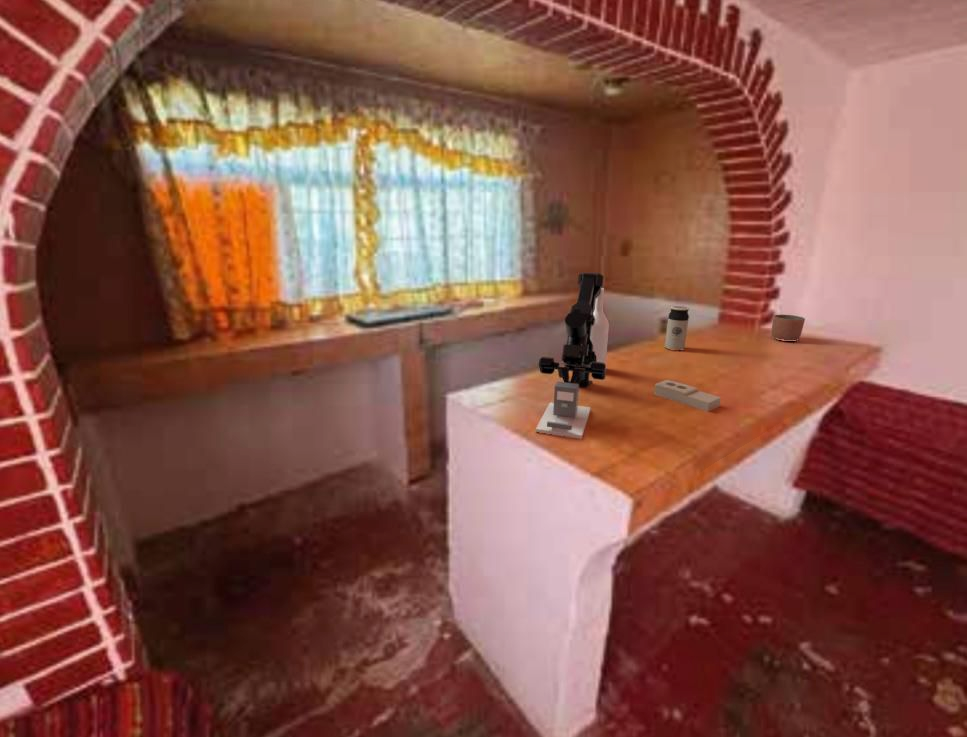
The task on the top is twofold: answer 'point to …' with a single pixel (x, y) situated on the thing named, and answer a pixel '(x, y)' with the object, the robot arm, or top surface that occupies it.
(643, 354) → the top surface
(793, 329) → the planter
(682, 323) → the travel mug
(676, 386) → the grey stepped block
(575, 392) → the plate
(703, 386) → the top surface
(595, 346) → the bottle
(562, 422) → the rail plate
